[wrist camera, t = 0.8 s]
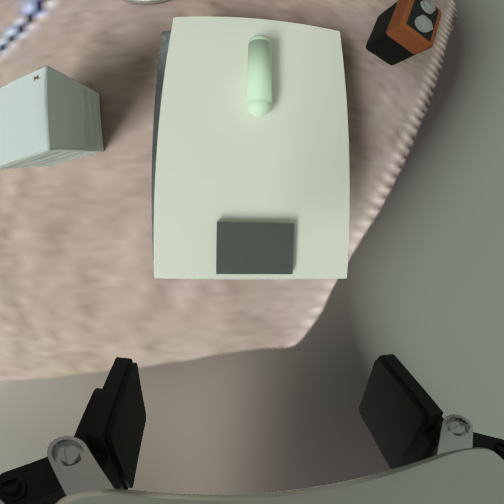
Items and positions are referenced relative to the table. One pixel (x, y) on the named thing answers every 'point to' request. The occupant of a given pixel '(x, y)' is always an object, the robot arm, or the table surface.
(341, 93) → the level plate
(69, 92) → the supplement box
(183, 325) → the table surface
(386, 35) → the battery
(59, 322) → the table surface
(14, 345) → the table surface
